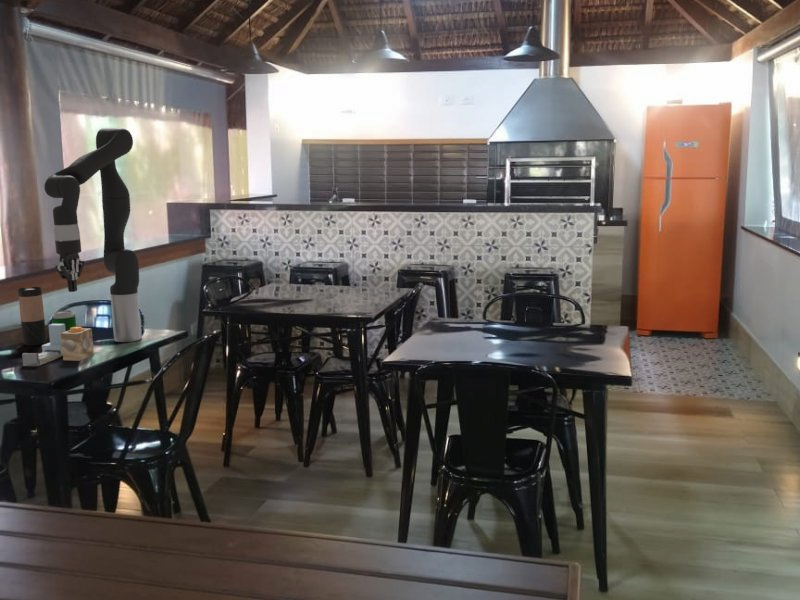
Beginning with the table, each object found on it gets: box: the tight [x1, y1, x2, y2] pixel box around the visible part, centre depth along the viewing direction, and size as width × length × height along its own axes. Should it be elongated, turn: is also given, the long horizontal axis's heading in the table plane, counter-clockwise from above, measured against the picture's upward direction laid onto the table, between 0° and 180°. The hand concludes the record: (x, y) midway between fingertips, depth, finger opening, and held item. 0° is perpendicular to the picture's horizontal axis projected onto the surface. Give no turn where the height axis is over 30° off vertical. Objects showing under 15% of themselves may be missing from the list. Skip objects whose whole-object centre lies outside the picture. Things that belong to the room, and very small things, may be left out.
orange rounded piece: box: [70, 326, 83, 333], centre depth 249 cm, size 4×4×5 cm
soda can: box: [51, 309, 77, 331], centre depth 268 cm, size 8×8×12 cm
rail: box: [21, 350, 63, 368], centre depth 251 cm, size 23×5×4 cm, turn 170°
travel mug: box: [17, 286, 47, 346], centre depth 270 cm, size 8×8×20 cm
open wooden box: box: [61, 327, 95, 362], centre depth 250 cm, size 8×6×9 cm
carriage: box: [41, 323, 66, 355], centre depth 254 cm, size 7×8×10 cm
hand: (72, 291), depth 247 cm, fingers closed
